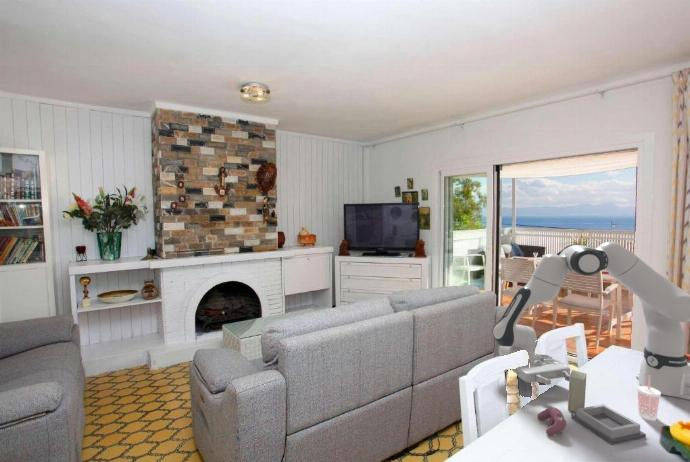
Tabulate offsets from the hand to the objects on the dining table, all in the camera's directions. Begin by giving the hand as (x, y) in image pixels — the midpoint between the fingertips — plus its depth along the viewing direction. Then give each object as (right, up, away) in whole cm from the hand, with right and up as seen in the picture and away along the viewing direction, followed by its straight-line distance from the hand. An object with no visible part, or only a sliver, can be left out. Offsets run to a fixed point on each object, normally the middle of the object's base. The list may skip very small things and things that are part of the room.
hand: (560, 380), depth 133 cm
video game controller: (-13, -8, -17) cm, 23 cm away
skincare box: (+2, -7, -7) cm, 10 cm away
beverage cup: (+22, -7, -11) cm, 26 cm away
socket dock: (+5, -8, -17) cm, 19 cm away
